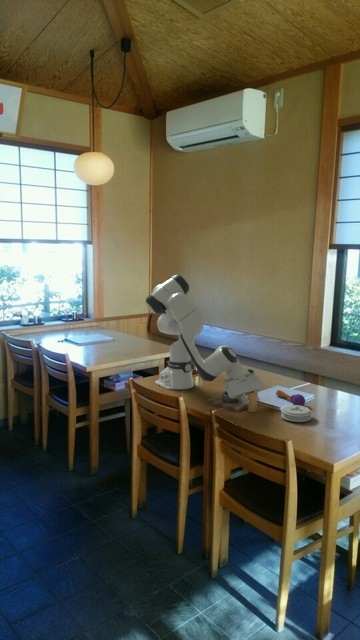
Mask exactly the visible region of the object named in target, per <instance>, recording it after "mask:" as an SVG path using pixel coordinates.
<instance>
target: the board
mask: <svg viewBox="0 0 360 640" xmlns="http://www.w3.org/2000/svg"><path fill="white" fill-rule="evenodd" d="M207 403H208V404H211V405H213V406H216V407H219V408H223V409H226V410H229V411H232V412H237V413H238V412H241V411H243V410H244V411H245V410H248V404H247V403H246V401H244V400H243V399H241V397H239V401H238V402H236V403H226V402H223V401H222V395H219V396H216V397H212V398H209V399H207Z"/></svg>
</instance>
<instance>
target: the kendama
mask: <svg viewBox="0 0 360 640" xmlns="http://www.w3.org/2000/svg"><path fill="white" fill-rule="evenodd" d="M275 395H276V396H277V395H278V396H281V397H280V398H283V397H284V398H285V399H289V400H290V402H291V403H292V405H299V406H305V403H306V398H305V396H304V395H303V394H300V393H297V394H292V395H290V394H287V393H286V392H284V391H282V390H280V389H278V390H276V391H275ZM278 396H277V397H278Z"/></svg>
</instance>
